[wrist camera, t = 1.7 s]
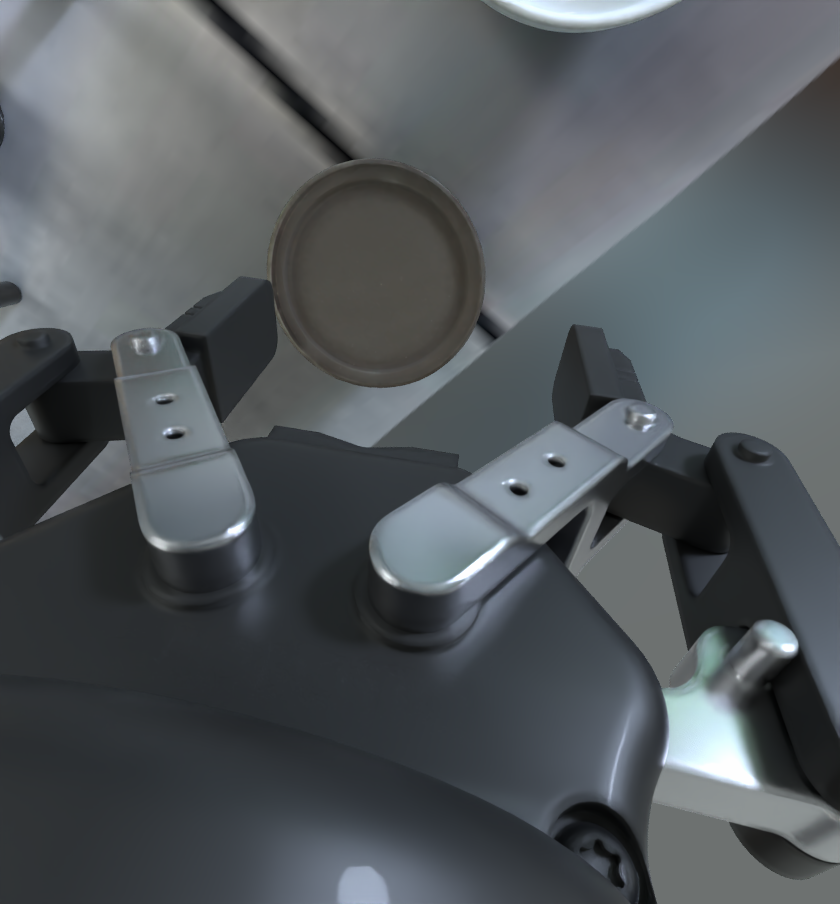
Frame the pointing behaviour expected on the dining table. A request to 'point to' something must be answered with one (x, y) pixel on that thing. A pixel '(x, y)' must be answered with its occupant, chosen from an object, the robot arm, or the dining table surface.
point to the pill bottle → (1, 126)
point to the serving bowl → (579, 13)
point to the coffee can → (376, 273)
